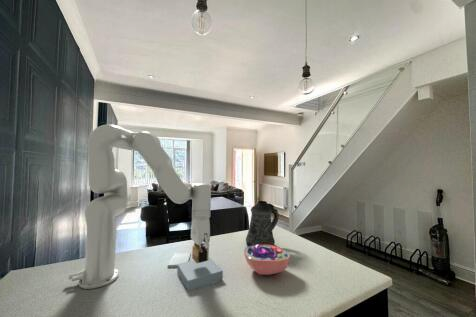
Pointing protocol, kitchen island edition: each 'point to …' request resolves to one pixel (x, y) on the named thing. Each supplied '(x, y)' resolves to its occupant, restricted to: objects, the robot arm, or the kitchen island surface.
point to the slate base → (199, 273)
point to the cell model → (266, 259)
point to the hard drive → (178, 259)
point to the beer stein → (262, 224)
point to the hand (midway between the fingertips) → (200, 258)
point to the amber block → (197, 253)
